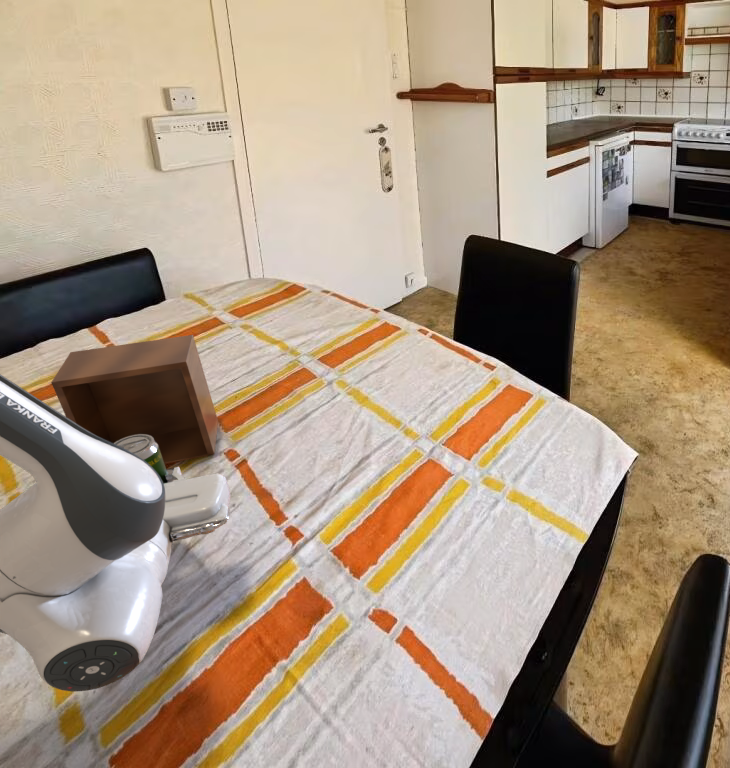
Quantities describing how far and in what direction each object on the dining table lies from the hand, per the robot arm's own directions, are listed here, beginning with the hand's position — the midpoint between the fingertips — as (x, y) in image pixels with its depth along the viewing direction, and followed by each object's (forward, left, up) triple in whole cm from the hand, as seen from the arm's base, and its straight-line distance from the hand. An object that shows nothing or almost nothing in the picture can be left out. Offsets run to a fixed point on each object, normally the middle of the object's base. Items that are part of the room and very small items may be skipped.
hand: (145, 477), depth 79 cm
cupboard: (-5, +27, -12) cm, 30 cm away
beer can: (0, -1, -7) cm, 7 cm away
